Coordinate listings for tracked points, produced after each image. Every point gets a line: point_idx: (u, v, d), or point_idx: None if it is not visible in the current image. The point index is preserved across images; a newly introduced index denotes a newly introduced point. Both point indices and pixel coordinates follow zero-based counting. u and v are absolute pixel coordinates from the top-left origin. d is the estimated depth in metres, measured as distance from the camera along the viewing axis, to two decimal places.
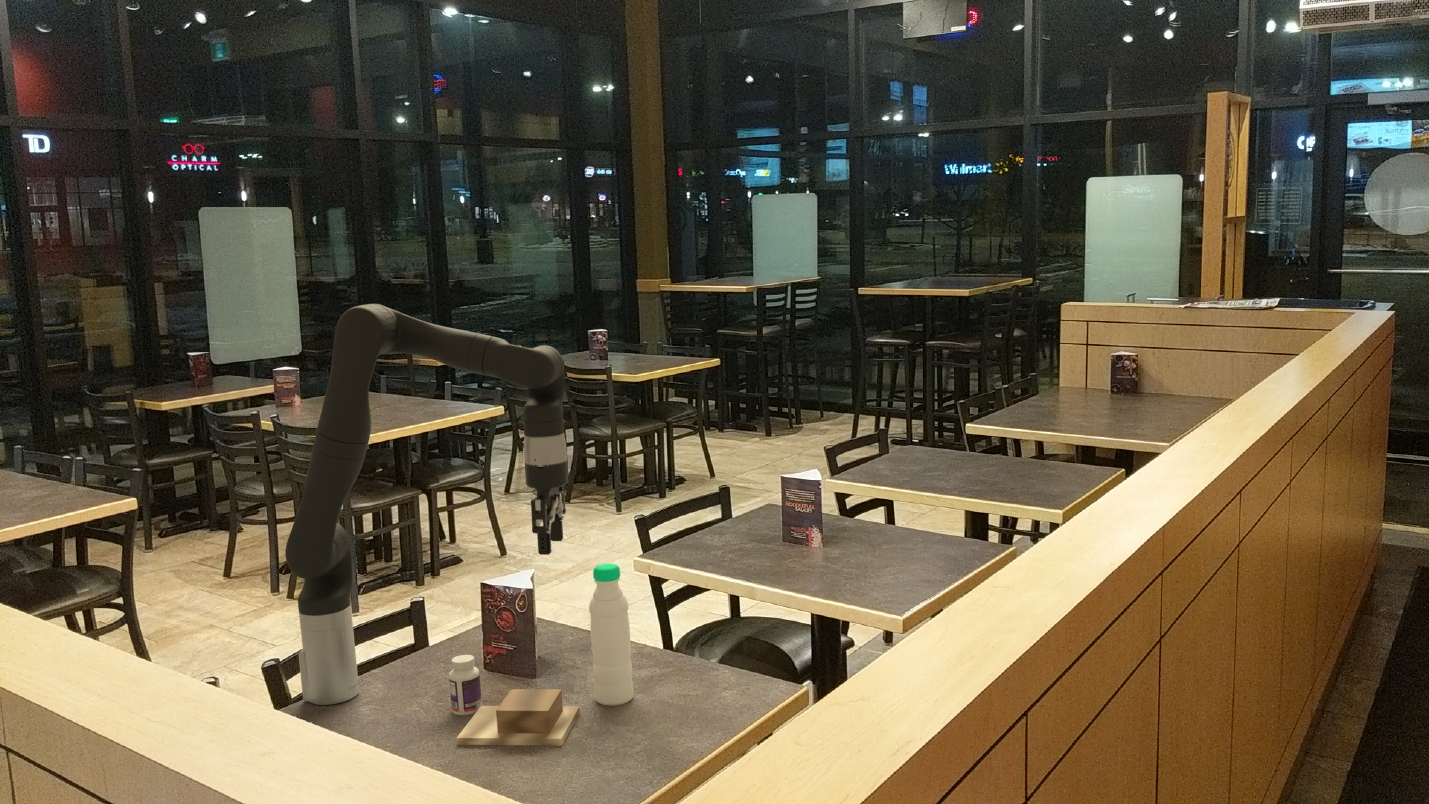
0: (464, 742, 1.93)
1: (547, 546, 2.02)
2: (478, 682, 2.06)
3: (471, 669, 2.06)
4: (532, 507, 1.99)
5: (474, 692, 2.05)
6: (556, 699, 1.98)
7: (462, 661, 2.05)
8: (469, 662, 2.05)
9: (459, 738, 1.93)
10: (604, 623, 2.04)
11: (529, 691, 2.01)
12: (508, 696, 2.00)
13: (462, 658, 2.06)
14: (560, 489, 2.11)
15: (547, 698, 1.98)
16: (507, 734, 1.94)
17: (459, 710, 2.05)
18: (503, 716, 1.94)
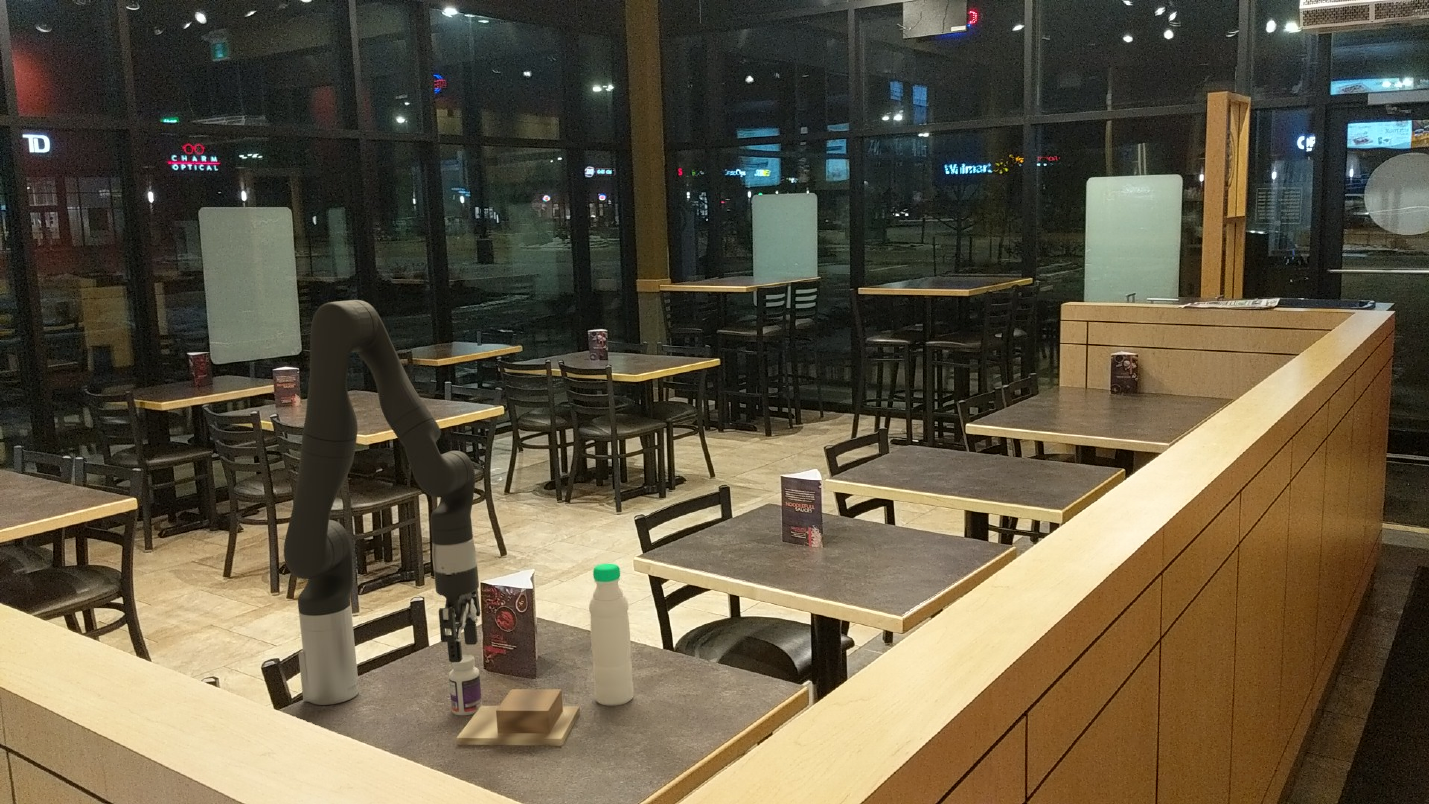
0: (464, 742, 1.93)
1: (458, 654, 2.01)
2: (478, 682, 2.06)
3: (471, 669, 2.06)
4: (440, 616, 1.98)
5: (474, 692, 2.05)
6: (556, 699, 1.98)
7: (462, 661, 2.05)
8: (469, 662, 2.05)
9: (459, 738, 1.93)
10: (604, 623, 2.04)
11: (529, 691, 2.01)
12: (508, 696, 2.00)
13: (462, 658, 2.06)
14: (473, 592, 2.10)
15: (547, 698, 1.98)
16: (507, 734, 1.94)
17: (459, 710, 2.05)
18: (503, 716, 1.94)
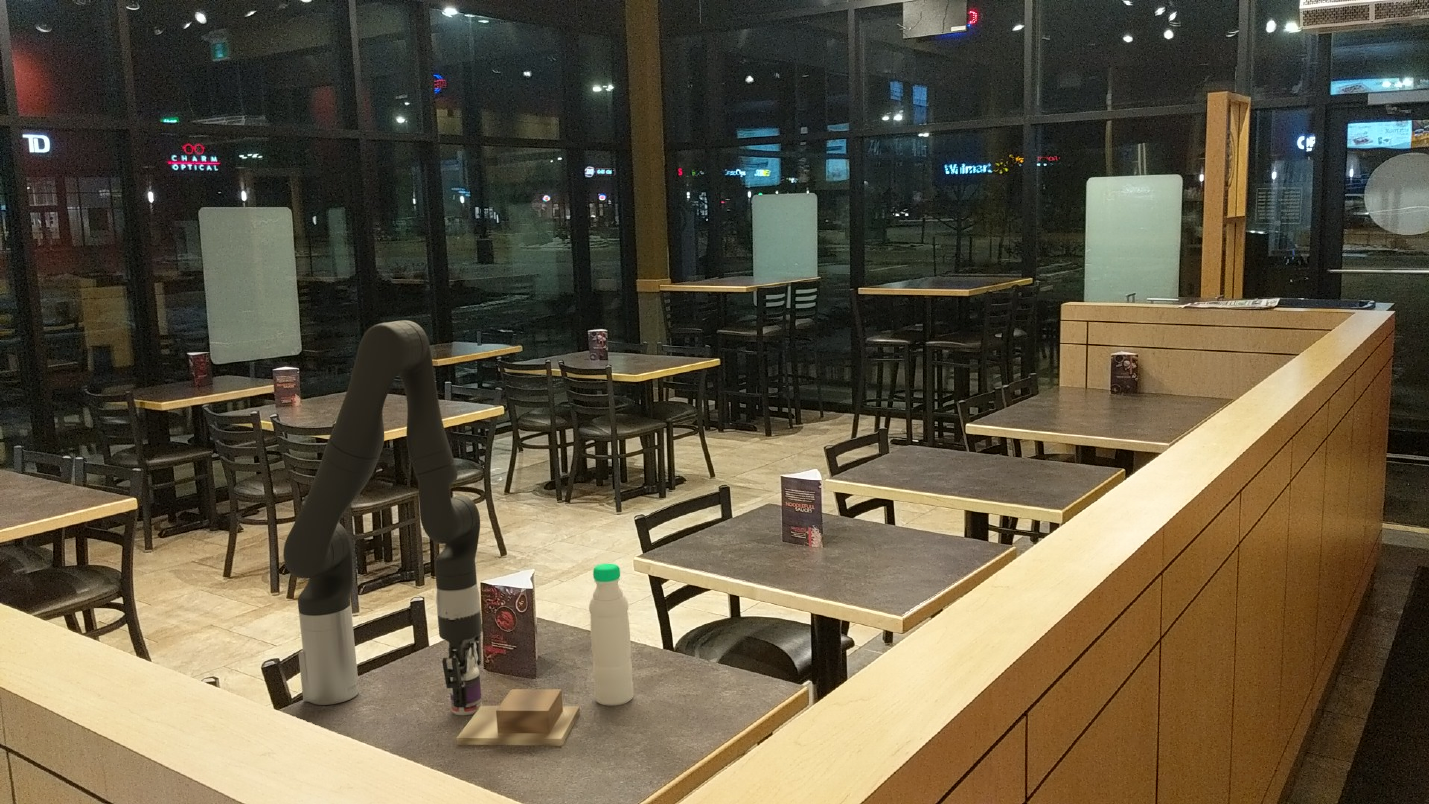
0: (464, 742, 1.93)
1: (463, 699, 2.04)
2: (478, 682, 2.06)
3: (471, 669, 2.06)
4: (444, 666, 2.00)
5: (474, 692, 2.05)
6: (556, 699, 1.98)
7: None
8: None
9: (459, 738, 1.93)
10: (604, 623, 2.04)
11: (529, 691, 2.01)
12: (508, 696, 2.00)
13: None
14: (476, 638, 2.11)
15: (547, 698, 1.98)
16: (507, 734, 1.94)
17: (459, 710, 2.05)
18: (503, 716, 1.94)
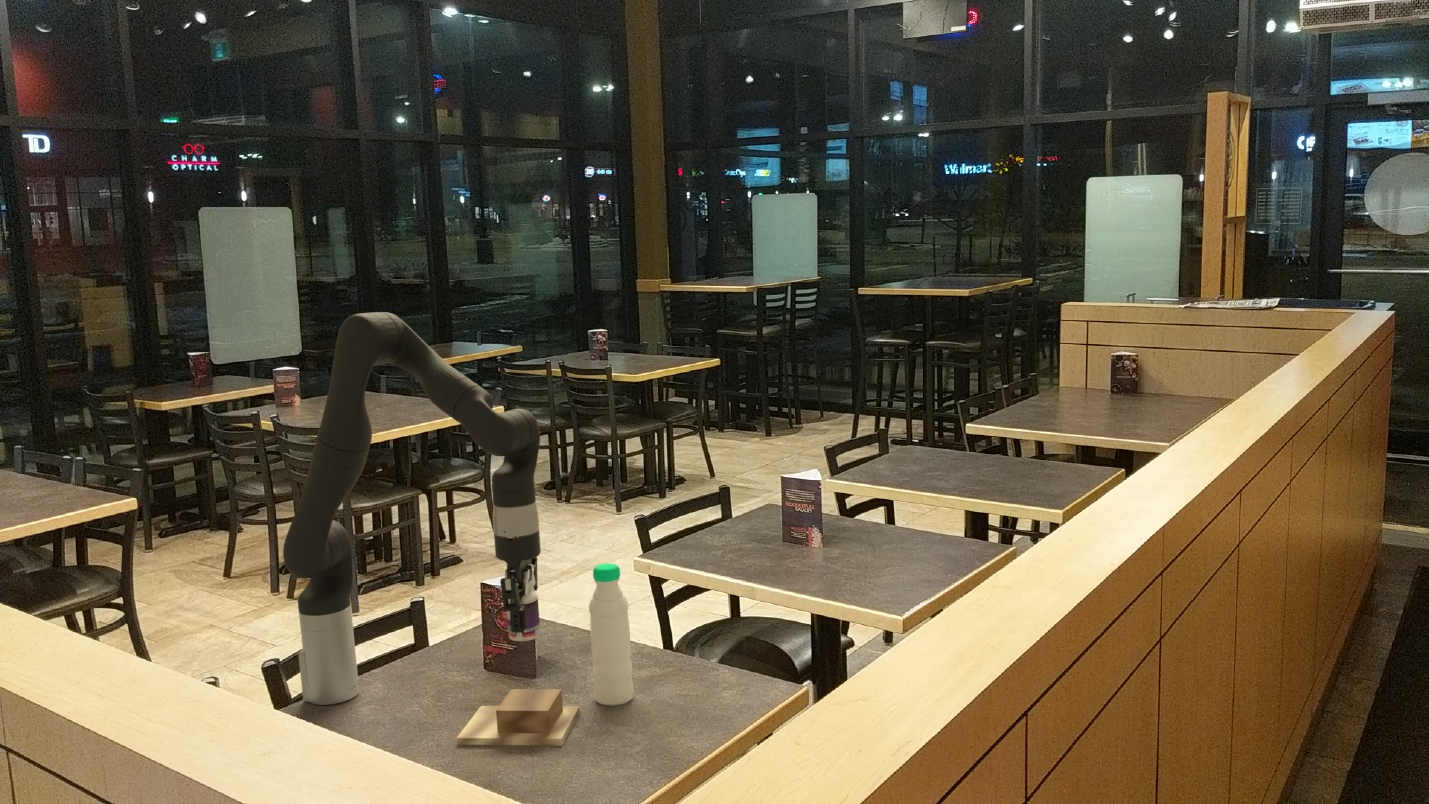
0: (464, 742, 1.93)
1: (521, 624, 1.92)
2: (537, 606, 1.95)
3: (529, 592, 1.94)
4: (502, 587, 1.88)
5: (532, 616, 1.94)
6: (556, 699, 1.98)
7: None
8: None
9: (459, 738, 1.93)
10: (604, 623, 2.04)
11: (529, 691, 2.01)
12: (508, 696, 2.00)
13: None
14: (533, 562, 2.00)
15: (547, 698, 1.98)
16: (507, 734, 1.94)
17: (516, 635, 1.93)
18: (503, 716, 1.94)
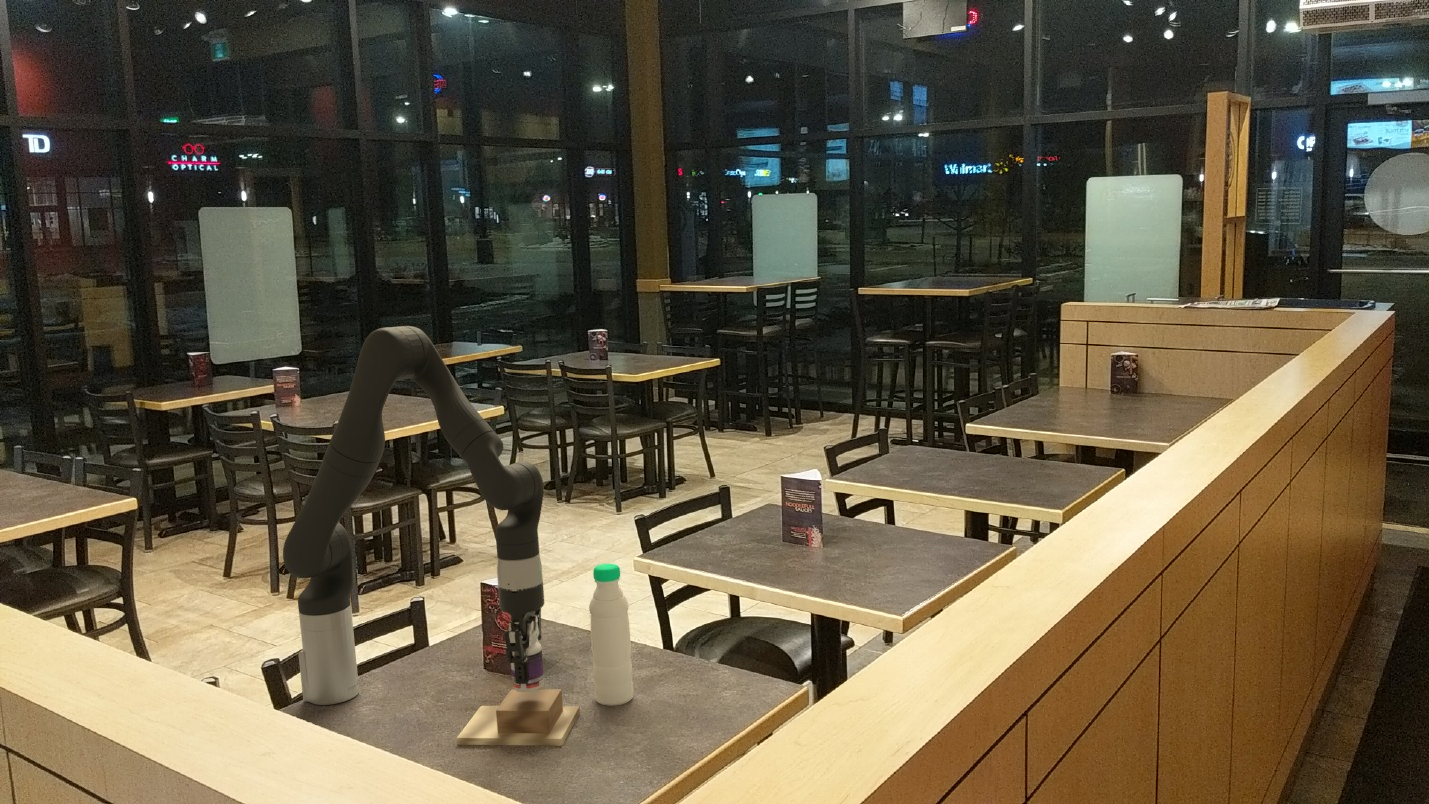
0: (464, 742, 1.93)
1: (525, 675, 1.94)
2: (541, 657, 1.96)
3: (533, 643, 1.96)
4: (506, 640, 1.89)
5: (536, 667, 1.95)
6: (556, 699, 1.98)
7: None
8: None
9: (459, 738, 1.93)
10: (604, 623, 2.04)
11: None
12: (508, 696, 2.00)
13: None
14: (537, 612, 2.01)
15: (547, 698, 1.98)
16: (507, 734, 1.94)
17: (521, 686, 1.95)
18: (503, 716, 1.94)
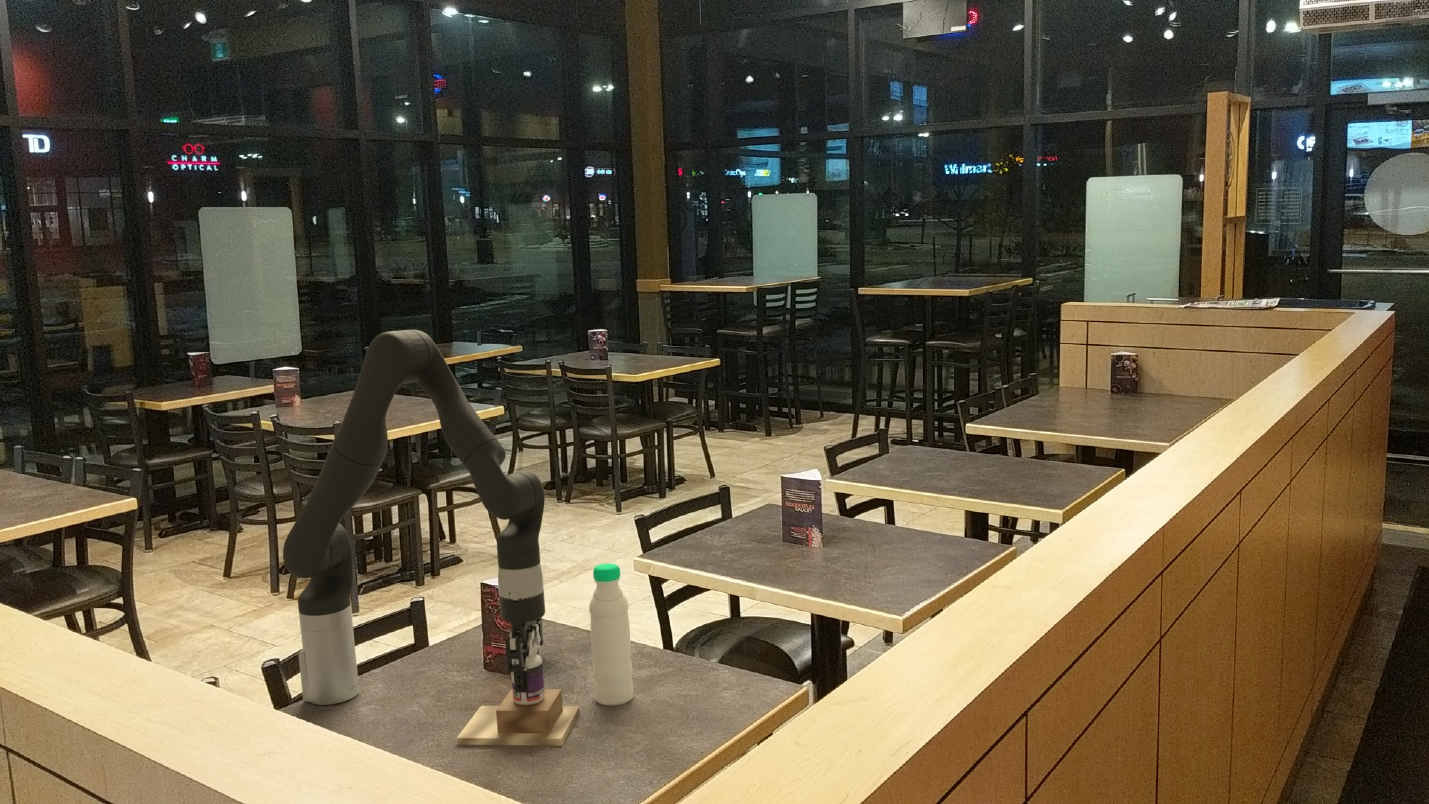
0: (464, 742, 1.93)
1: (524, 684, 1.93)
2: (541, 670, 1.96)
3: (534, 656, 1.96)
4: (507, 647, 1.89)
5: (537, 680, 1.95)
6: (556, 699, 1.98)
7: None
8: (532, 649, 1.95)
9: (459, 738, 1.93)
10: (604, 623, 2.04)
11: None
12: (508, 696, 2.00)
13: None
14: (537, 619, 2.01)
15: (547, 698, 1.98)
16: (507, 734, 1.94)
17: (521, 699, 1.95)
18: (503, 716, 1.94)
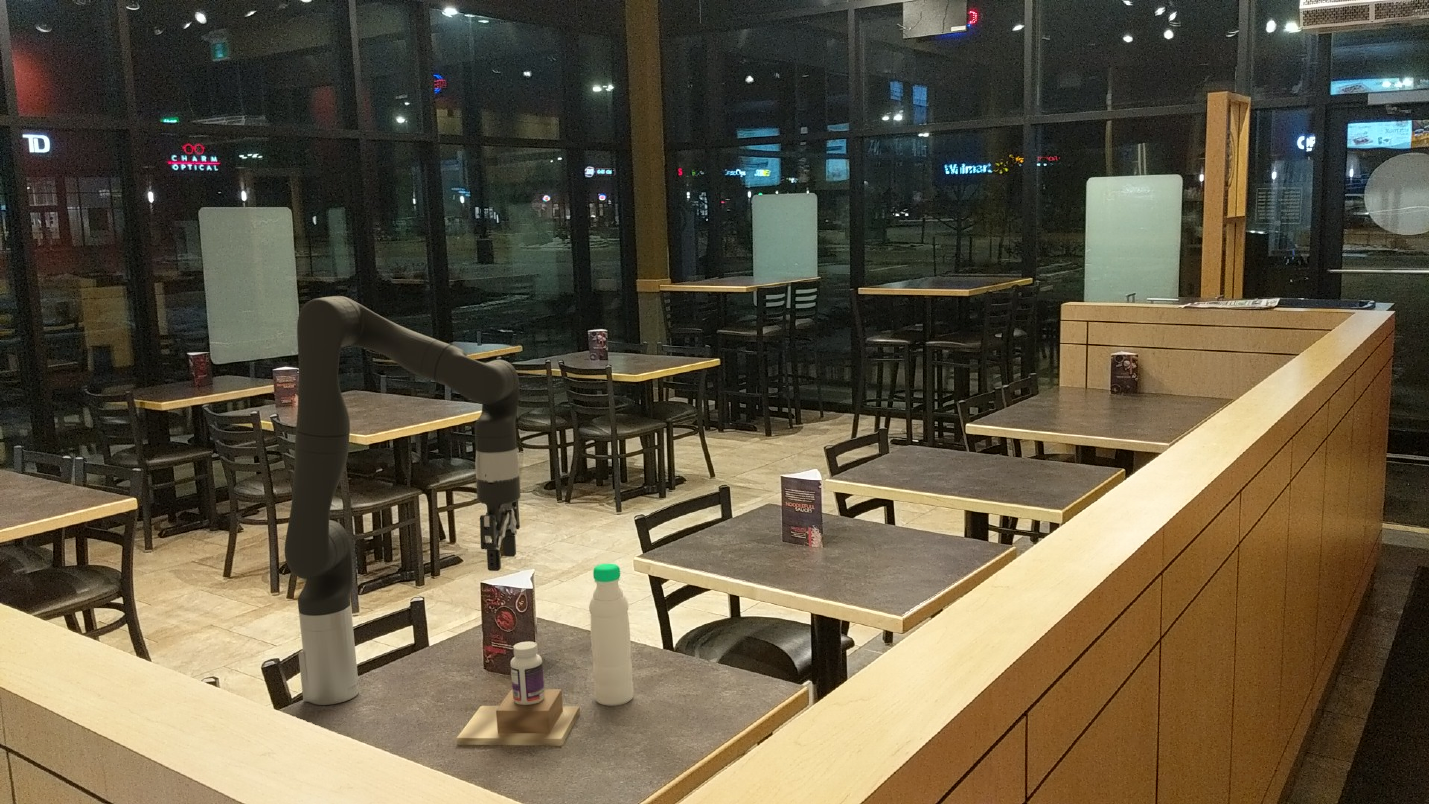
0: (464, 742, 1.93)
1: (497, 563, 2.01)
2: (541, 670, 1.96)
3: (534, 656, 1.96)
4: (481, 523, 1.98)
5: (537, 680, 1.95)
6: (556, 699, 1.98)
7: (525, 648, 1.95)
8: (532, 649, 1.95)
9: (459, 738, 1.93)
10: (604, 623, 2.04)
11: None
12: (508, 696, 2.00)
13: (524, 645, 1.96)
14: (514, 504, 2.10)
15: (547, 698, 1.98)
16: (507, 734, 1.94)
17: (521, 699, 1.95)
18: (503, 716, 1.94)
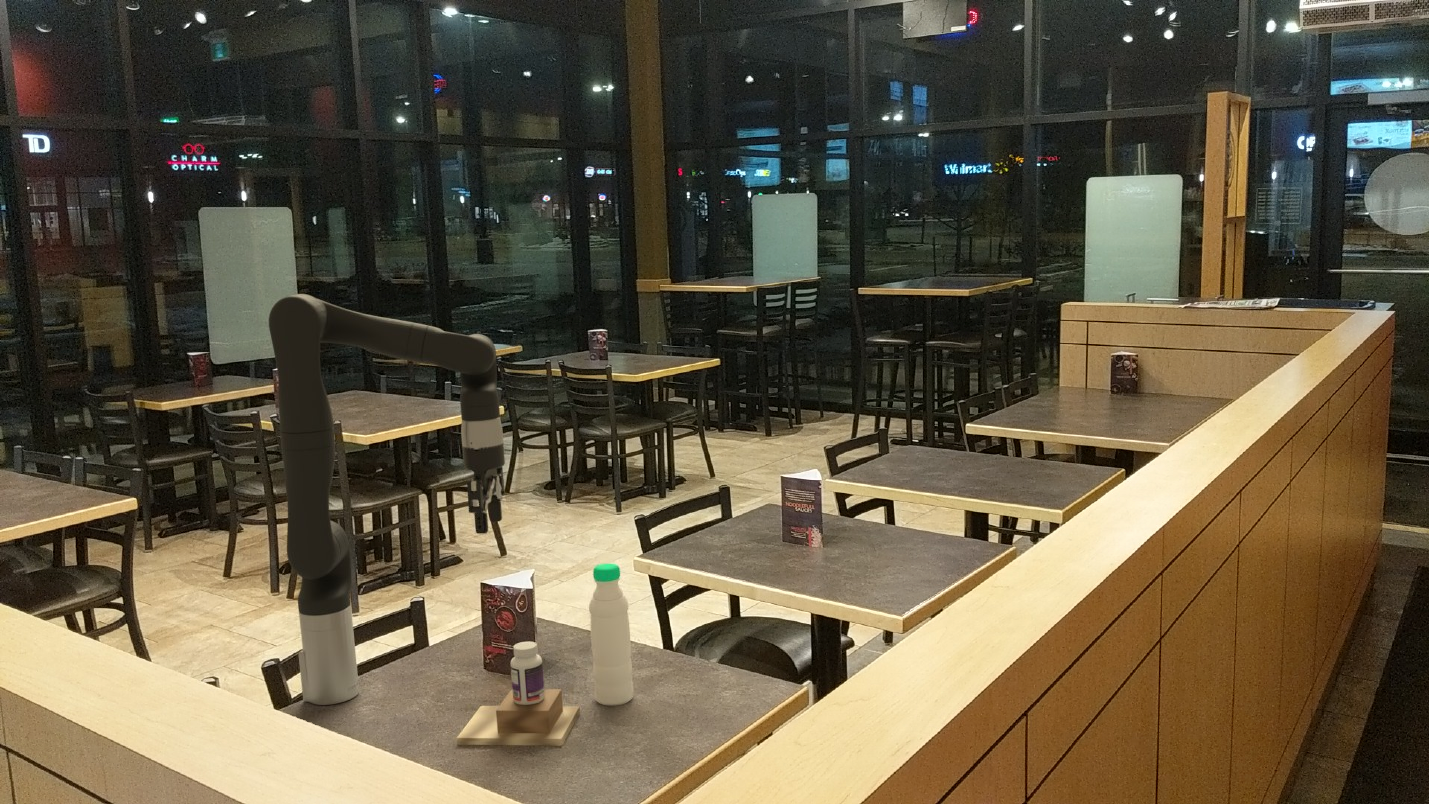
0: (464, 742, 1.93)
1: (484, 525, 2.12)
2: (541, 670, 1.96)
3: (534, 656, 1.96)
4: (468, 488, 2.09)
5: (537, 680, 1.95)
6: (556, 699, 1.98)
7: (525, 648, 1.95)
8: (532, 649, 1.95)
9: (459, 738, 1.93)
10: (604, 623, 2.04)
11: None
12: (508, 696, 2.00)
13: (524, 645, 1.96)
14: (499, 471, 2.21)
15: (547, 698, 1.98)
16: (507, 734, 1.94)
17: (521, 699, 1.95)
18: (503, 716, 1.94)
